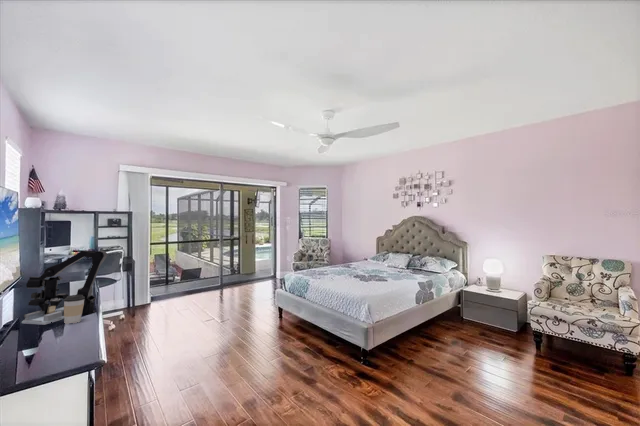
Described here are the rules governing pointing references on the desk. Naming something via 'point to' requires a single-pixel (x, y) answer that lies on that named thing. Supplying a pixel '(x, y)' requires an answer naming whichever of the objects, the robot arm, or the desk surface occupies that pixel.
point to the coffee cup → (73, 308)
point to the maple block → (50, 309)
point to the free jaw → (34, 315)
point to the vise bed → (45, 319)
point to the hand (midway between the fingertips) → (48, 313)
